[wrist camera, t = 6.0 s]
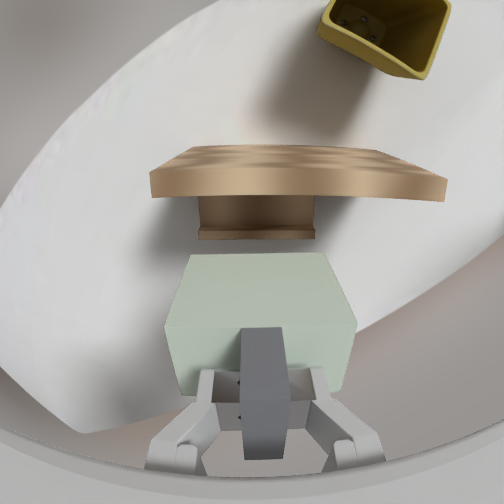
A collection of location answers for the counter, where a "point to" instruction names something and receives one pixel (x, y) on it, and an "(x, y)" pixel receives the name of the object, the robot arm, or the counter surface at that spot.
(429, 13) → the flower pot
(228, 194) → the wall board
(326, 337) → the pale green box
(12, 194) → the counter surface
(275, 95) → the counter surface
